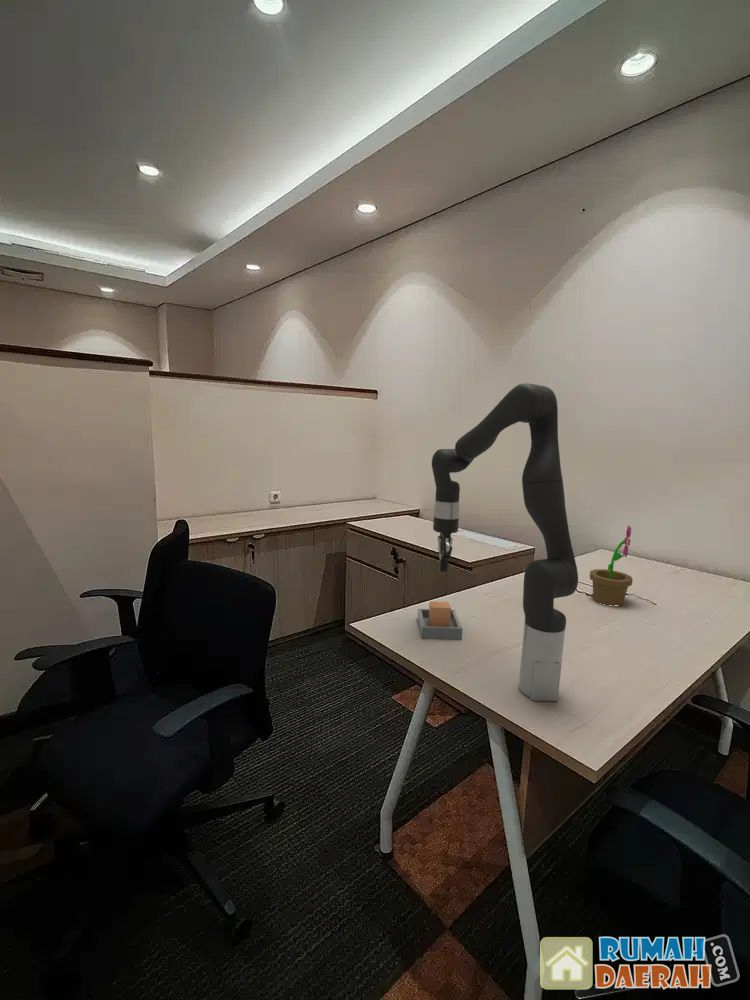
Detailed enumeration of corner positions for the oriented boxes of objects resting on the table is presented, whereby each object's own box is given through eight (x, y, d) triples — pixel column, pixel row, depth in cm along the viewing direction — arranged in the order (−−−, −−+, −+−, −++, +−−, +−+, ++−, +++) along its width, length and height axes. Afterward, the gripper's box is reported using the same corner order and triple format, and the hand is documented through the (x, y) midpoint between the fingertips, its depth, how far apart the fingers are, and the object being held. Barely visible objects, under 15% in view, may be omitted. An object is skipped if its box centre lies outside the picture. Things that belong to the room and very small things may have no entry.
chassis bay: (461, 639, 141) (462, 628, 140) (421, 638, 141) (422, 627, 140) (453, 619, 155) (454, 609, 154) (417, 618, 155) (418, 608, 154)
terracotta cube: (449, 629, 145) (451, 608, 144) (430, 629, 145) (431, 607, 144) (447, 622, 150) (448, 601, 149) (428, 622, 150) (429, 601, 149)
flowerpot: (625, 612, 166) (636, 529, 161) (582, 602, 174) (591, 522, 169) (632, 600, 177) (642, 523, 172) (591, 591, 186) (600, 517, 181)
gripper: (462, 520, 135) (459, 578, 138) (455, 511, 148) (451, 565, 151) (436, 519, 135) (433, 577, 138) (431, 511, 148) (428, 564, 151)
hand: (443, 571), depth 144 cm, fingers closed
